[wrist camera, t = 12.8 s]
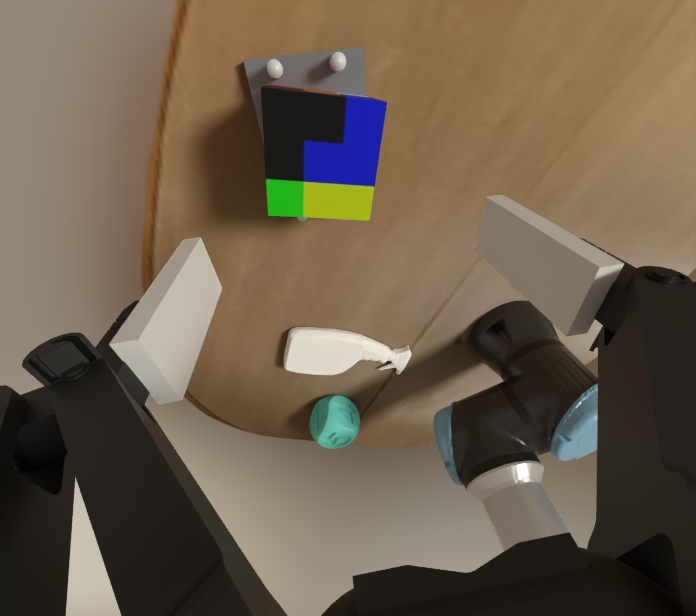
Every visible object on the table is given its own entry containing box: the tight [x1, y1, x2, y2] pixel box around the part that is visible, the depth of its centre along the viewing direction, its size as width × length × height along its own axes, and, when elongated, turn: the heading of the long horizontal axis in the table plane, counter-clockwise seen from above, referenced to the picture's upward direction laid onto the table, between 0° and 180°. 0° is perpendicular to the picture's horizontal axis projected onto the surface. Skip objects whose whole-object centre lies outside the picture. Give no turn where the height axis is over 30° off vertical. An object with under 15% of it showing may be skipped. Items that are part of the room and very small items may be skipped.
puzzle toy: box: [261, 84, 387, 220], centre depth 31 cm, size 10×10×10 cm
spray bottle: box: [284, 327, 412, 375], centre depth 57 cm, size 3×11×24 cm
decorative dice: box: [310, 395, 360, 449], centre depth 65 cm, size 8×8×8 cm
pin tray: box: [243, 47, 366, 222], centre depth 34 cm, size 16×12×4 cm
